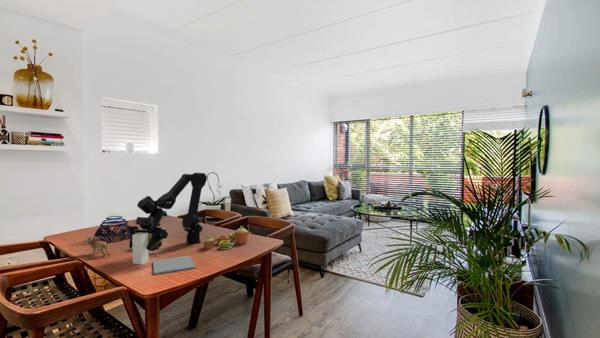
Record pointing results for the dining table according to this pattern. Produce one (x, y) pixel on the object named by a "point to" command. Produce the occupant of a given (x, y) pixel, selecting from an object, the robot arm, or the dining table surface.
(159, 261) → the rubber mat
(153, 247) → the potato
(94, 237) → the lion figurine
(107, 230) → the decorative bowl
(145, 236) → the tall block
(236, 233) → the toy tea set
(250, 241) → the dining table surface
